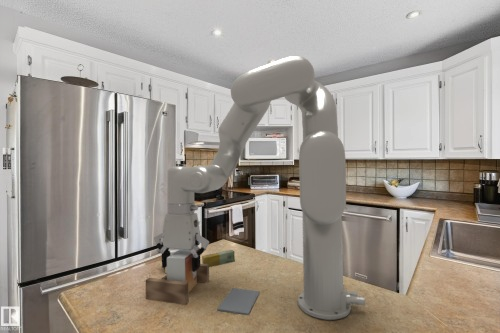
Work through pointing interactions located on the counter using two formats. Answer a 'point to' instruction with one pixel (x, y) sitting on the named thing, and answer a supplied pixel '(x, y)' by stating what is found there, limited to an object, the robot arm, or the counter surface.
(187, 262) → the small box
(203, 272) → the nook
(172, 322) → the counter surface
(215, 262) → the medication box
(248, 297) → the mat
